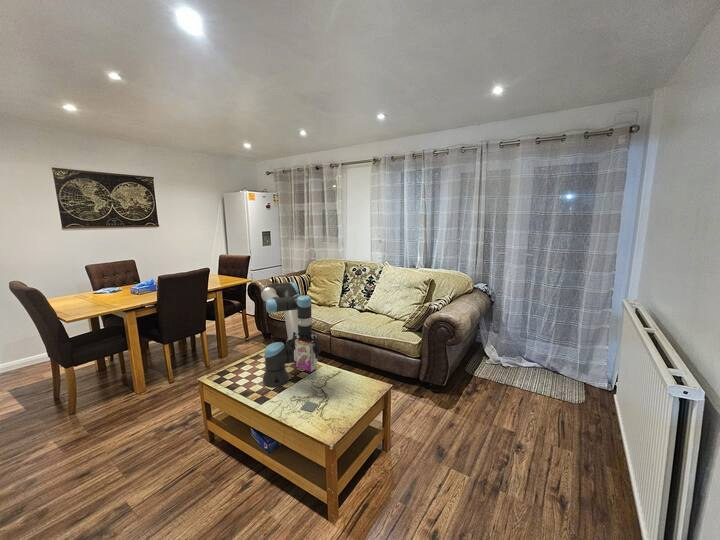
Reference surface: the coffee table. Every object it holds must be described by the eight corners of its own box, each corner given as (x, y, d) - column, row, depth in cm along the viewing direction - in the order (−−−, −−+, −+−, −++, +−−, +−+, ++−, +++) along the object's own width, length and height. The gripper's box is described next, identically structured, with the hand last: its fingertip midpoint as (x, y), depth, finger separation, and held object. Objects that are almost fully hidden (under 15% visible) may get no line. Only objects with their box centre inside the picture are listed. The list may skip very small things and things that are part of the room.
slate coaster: (300, 409, 159) (300, 408, 159) (307, 402, 166) (307, 401, 166) (312, 412, 157) (312, 411, 157) (318, 404, 163) (318, 403, 163)
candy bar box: (295, 367, 170) (294, 339, 168) (301, 363, 175) (300, 336, 172) (310, 372, 165) (310, 344, 162) (316, 368, 169) (316, 340, 166)
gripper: (282, 323, 166) (283, 361, 170) (321, 329, 158) (321, 368, 161) (289, 319, 173) (291, 355, 177) (327, 324, 165) (328, 362, 168)
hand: (305, 361), depth 169 cm, fingers closed on candy bar box, 12 cm apart
